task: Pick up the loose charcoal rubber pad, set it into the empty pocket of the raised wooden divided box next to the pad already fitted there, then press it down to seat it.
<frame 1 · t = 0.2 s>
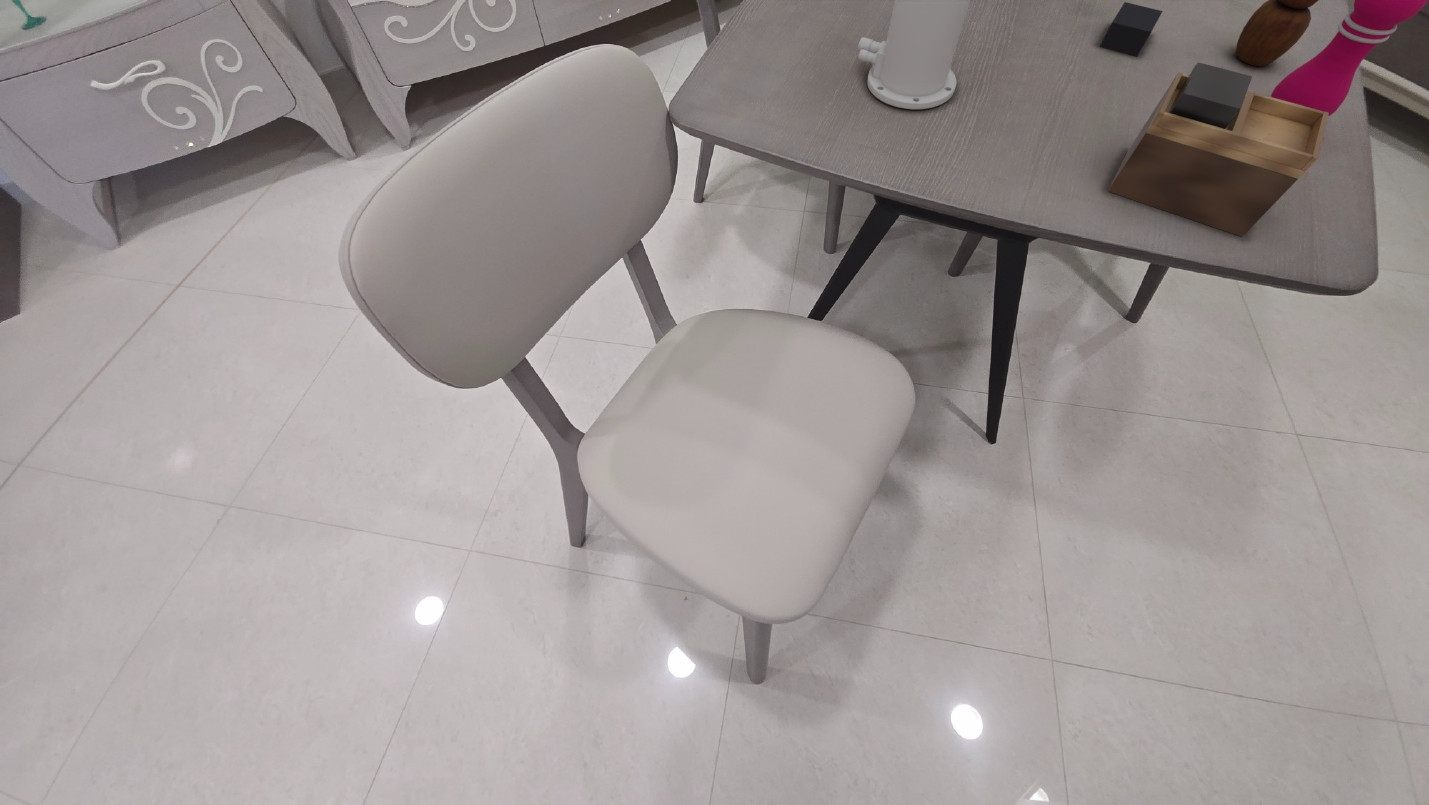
pink bowling pin: (1278, 129, 79), on the table
wooden divided box: (1227, 133, 66), on the table
wooden figurine: (1250, 60, 88), on the table
pad: (1124, 40, 91), on the table
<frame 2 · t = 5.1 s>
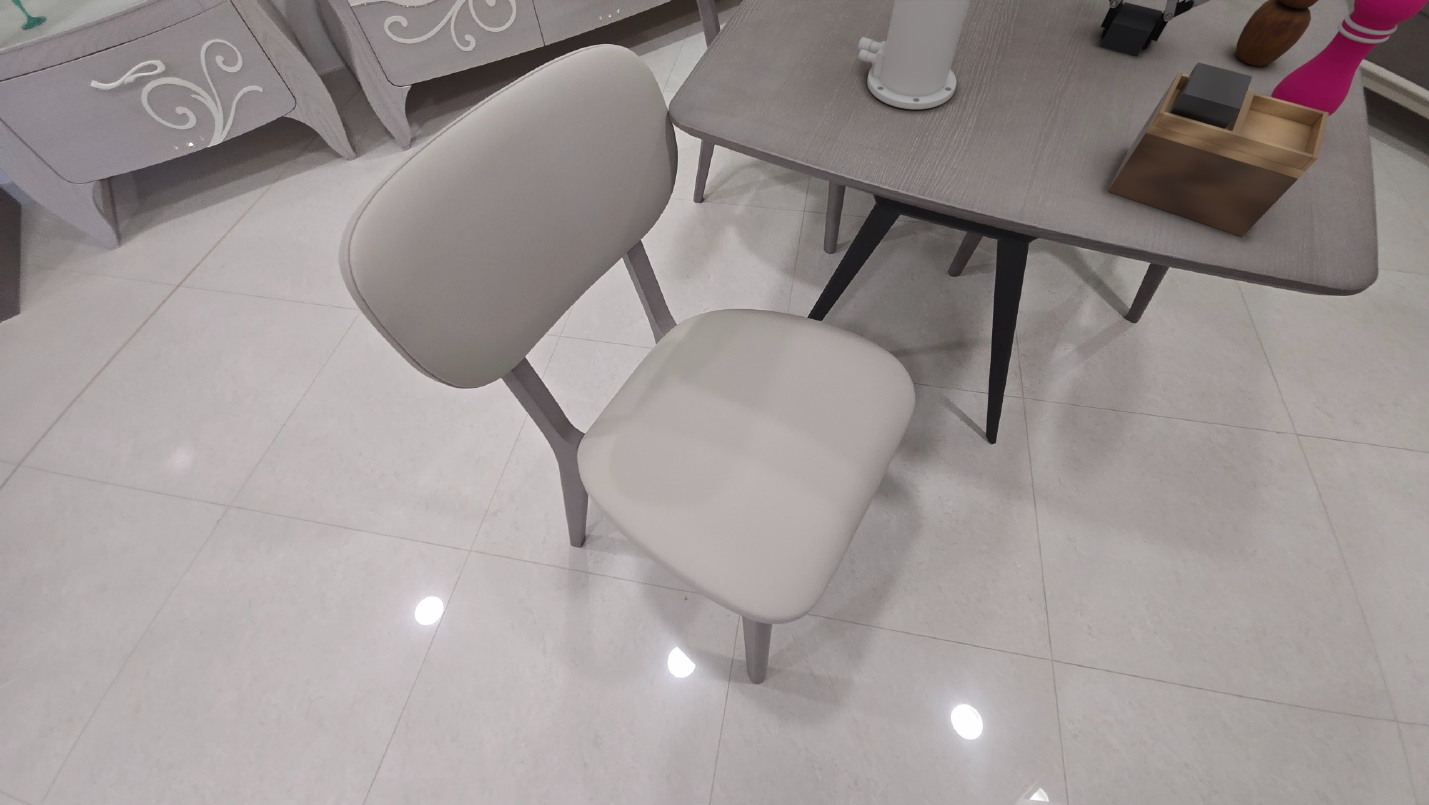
hand: (1126, 37, 91), 1 cm above the table, tool pointing down, fingers closed on pad, 5 cm apart
pad: (1124, 40, 91), on the table, touching gripper
everything else where it was.
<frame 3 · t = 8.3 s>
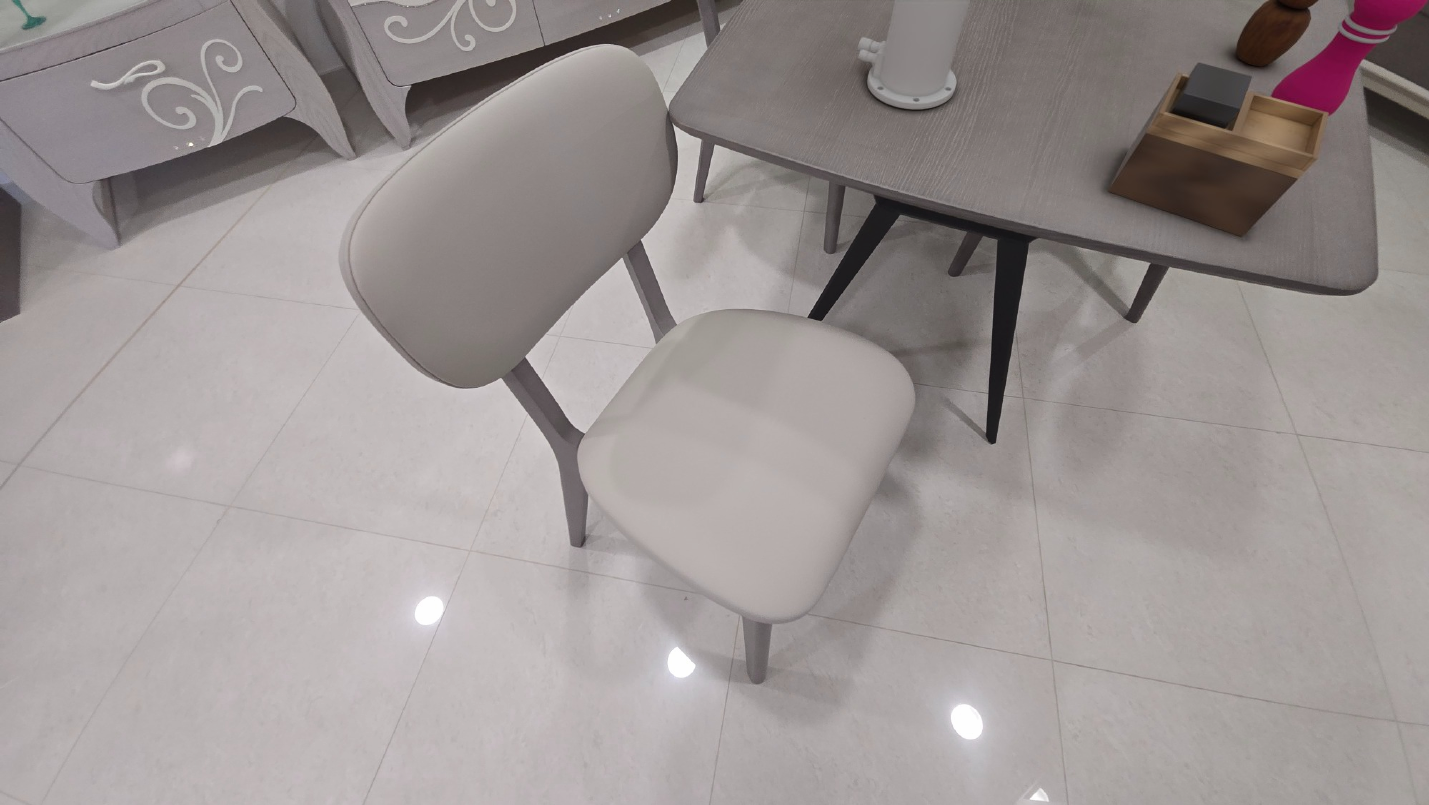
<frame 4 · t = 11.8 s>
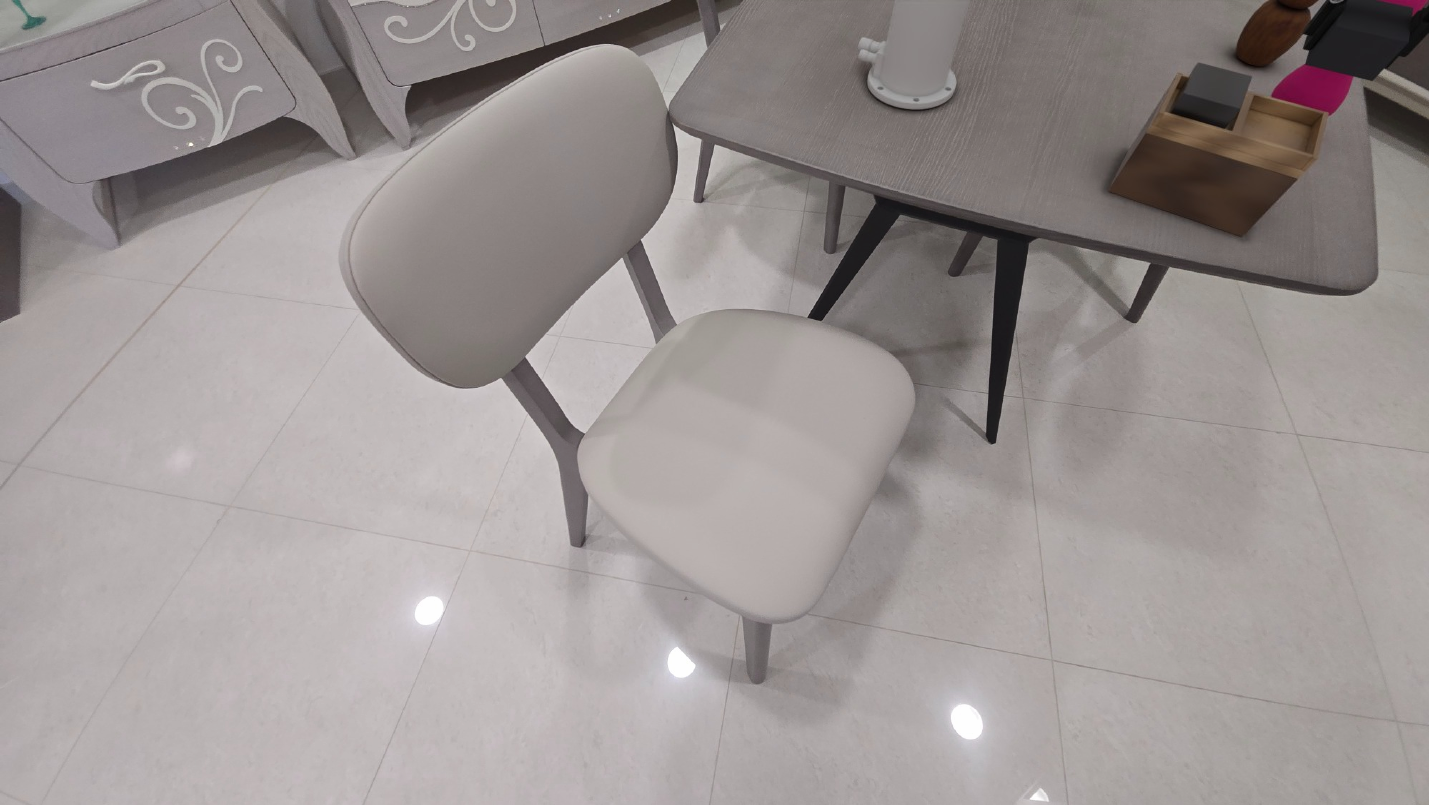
hand: (1346, 50, 57), 18 cm above the table, tool pointing down, fingers closed on pad, 5 cm apart
pad: (1342, 55, 57), point 18 cm above the table, touching gripper
everything else where it was.
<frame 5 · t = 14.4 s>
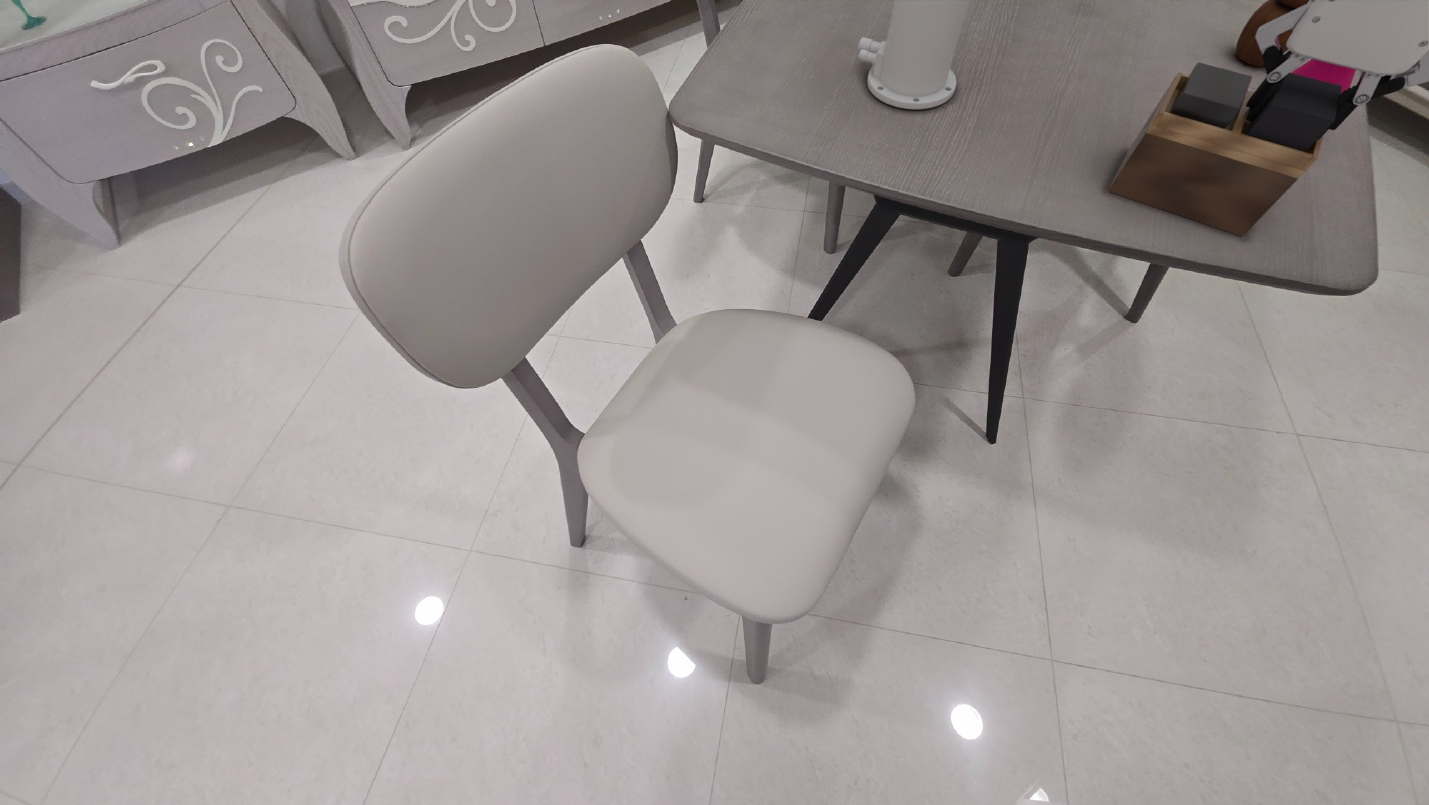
hand: (1284, 121, 63), 11 cm above the table, tool pointing down, fingers closed on pad, 5 cm apart
pad: (1280, 126, 63), point 10 cm above the table, touching gripper
everything else where it was.
when the fingers open (11 cm above the table, at t = 18.6 s): pad drops 2 cm, resting on wooden divided box.
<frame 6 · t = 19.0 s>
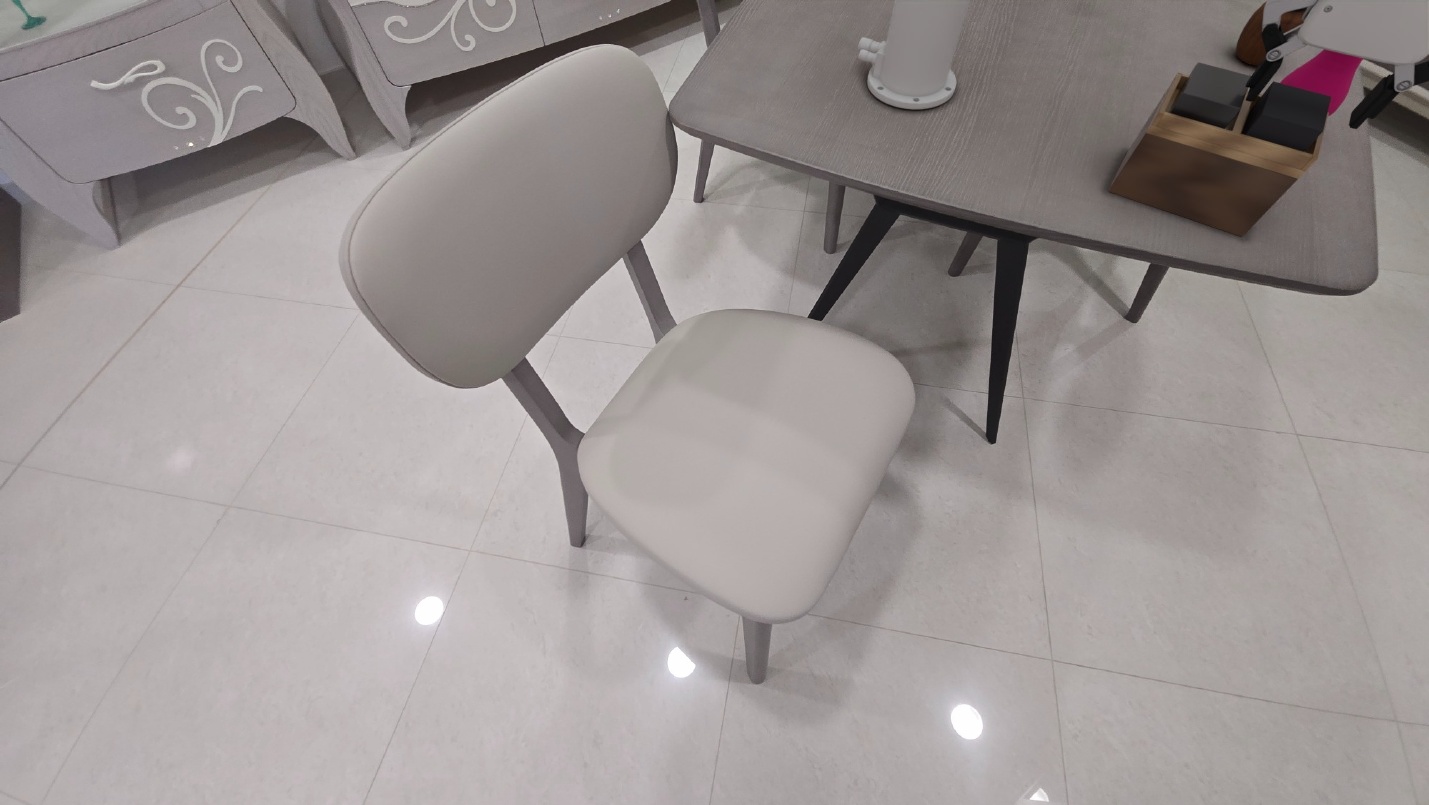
hand: (1301, 107, 61), 12 cm above the table, tool pointing down, fingers open, 8 cm apart
pad: (1271, 135, 64), point 9 cm above the table, touching wooden divided box
everything else where it was.
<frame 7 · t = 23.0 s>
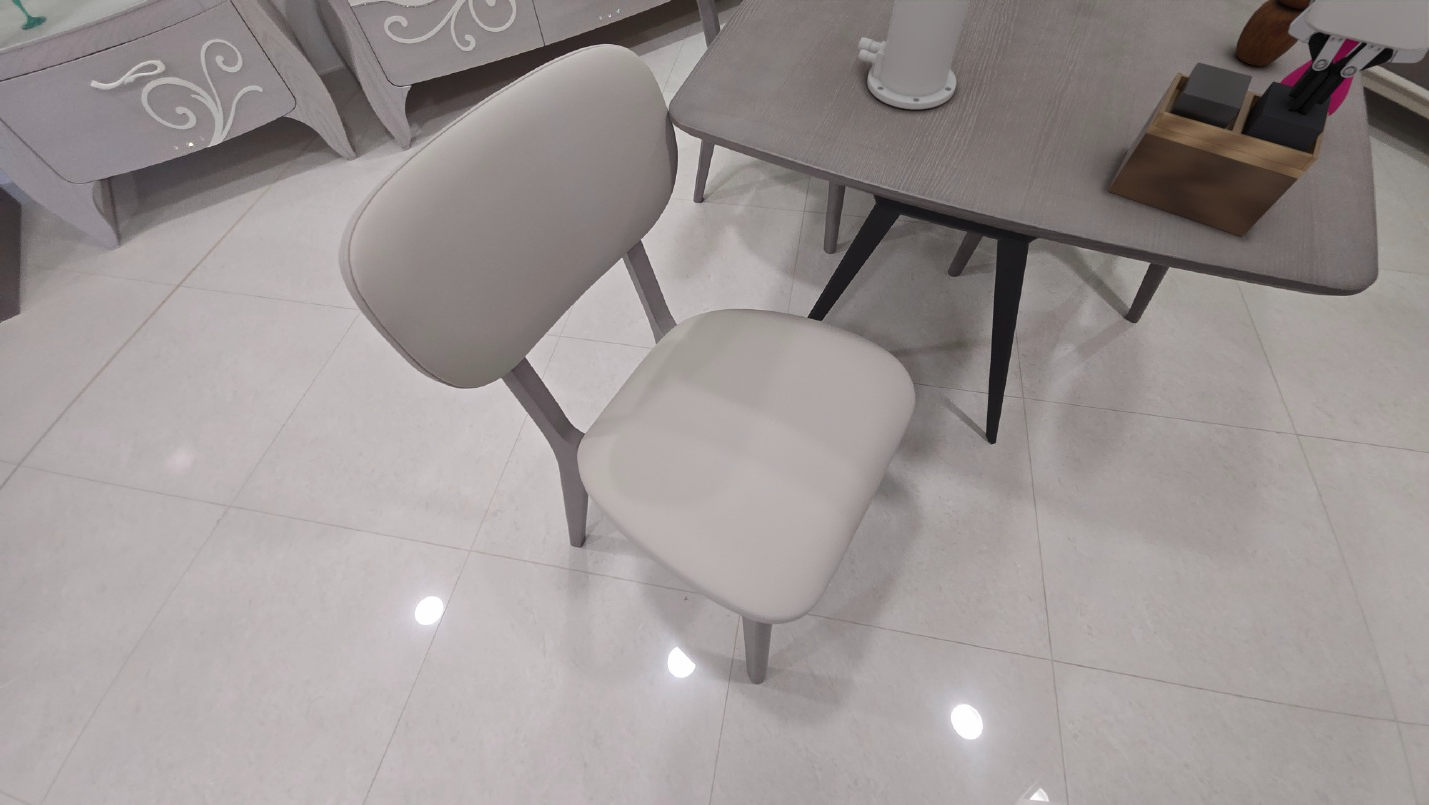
hand: (1298, 105, 61), 13 cm above the table, tool pointing down, fingers closed
pad: (1271, 135, 64), point 9 cm above the table, touching wooden divided box, gripper
everything else where it was.
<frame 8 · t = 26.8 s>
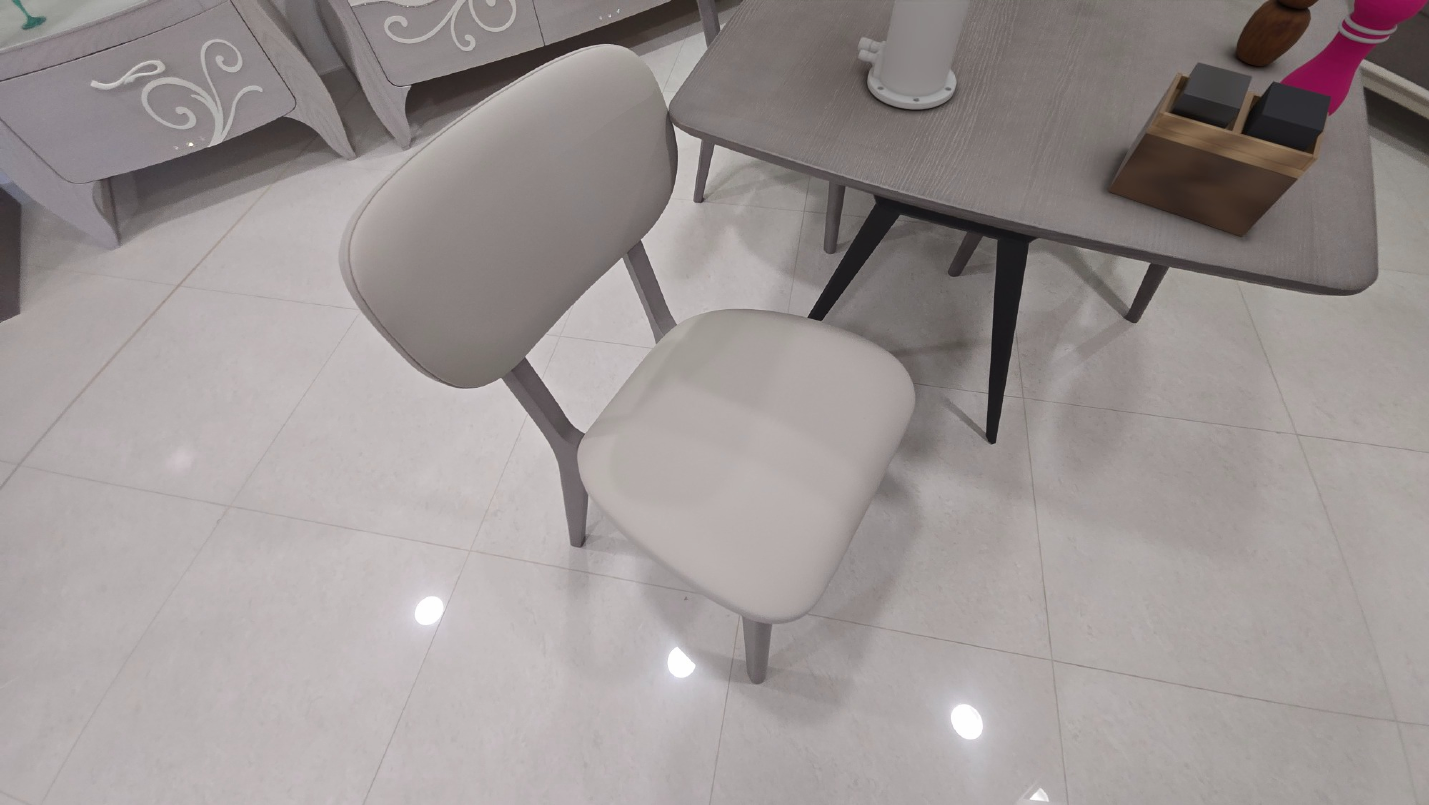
pad: (1271, 135, 64), point 9 cm above the table, touching wooden divided box
everything else where it was.
at the end: pad 0.1 cm from the target spot on the wooden divided box, point 1.0 cm above the wooden divided box's base; pad tilted 0° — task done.
